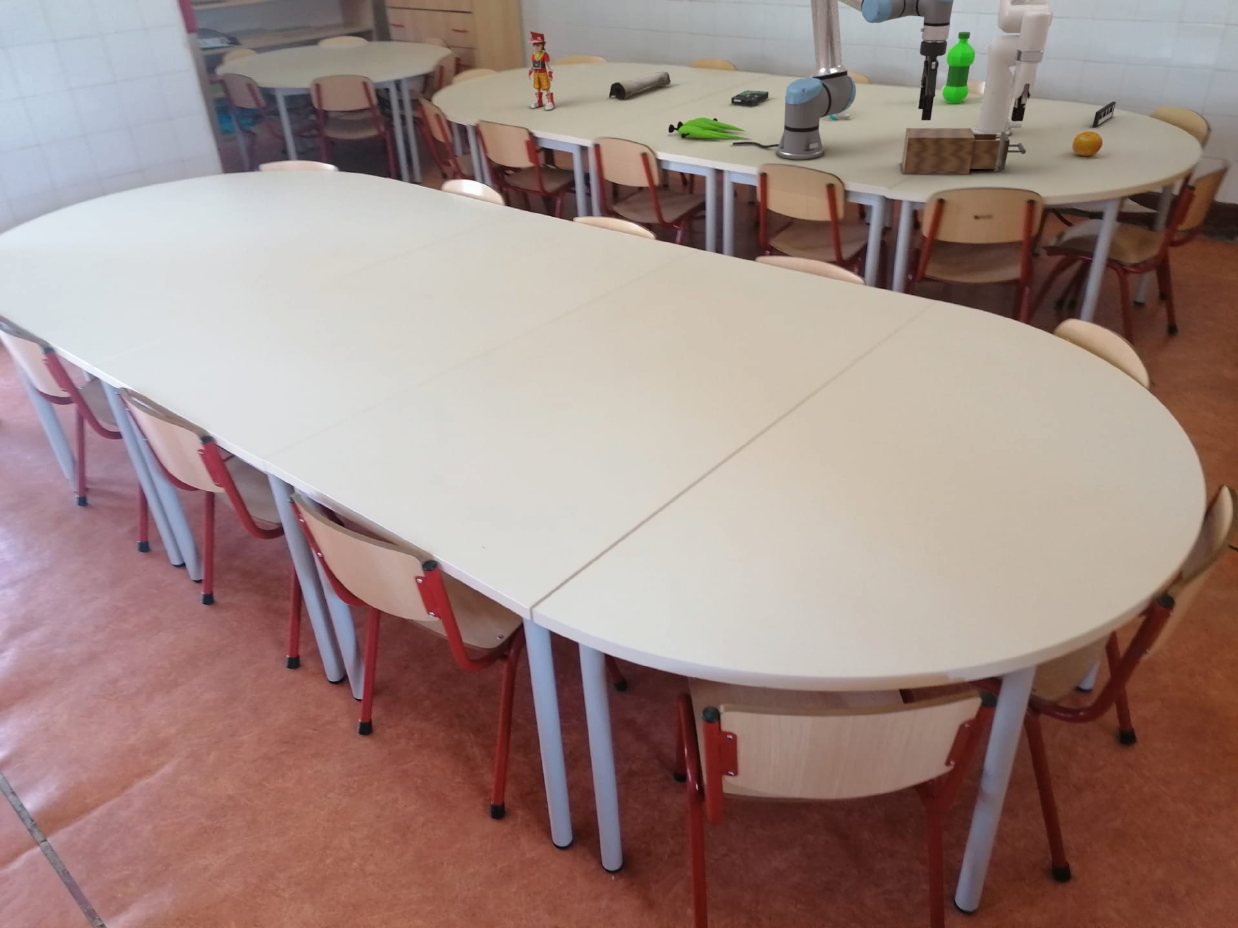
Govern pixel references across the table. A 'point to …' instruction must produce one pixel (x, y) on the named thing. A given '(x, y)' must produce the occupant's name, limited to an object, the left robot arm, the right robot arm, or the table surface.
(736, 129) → the toy
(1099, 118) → the midi keyboard
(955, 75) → the plastic bottle
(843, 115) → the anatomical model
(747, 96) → the disk drive
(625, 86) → the rolled mat
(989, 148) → the drawer
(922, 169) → the cabinet
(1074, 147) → the fruit
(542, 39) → the toy
